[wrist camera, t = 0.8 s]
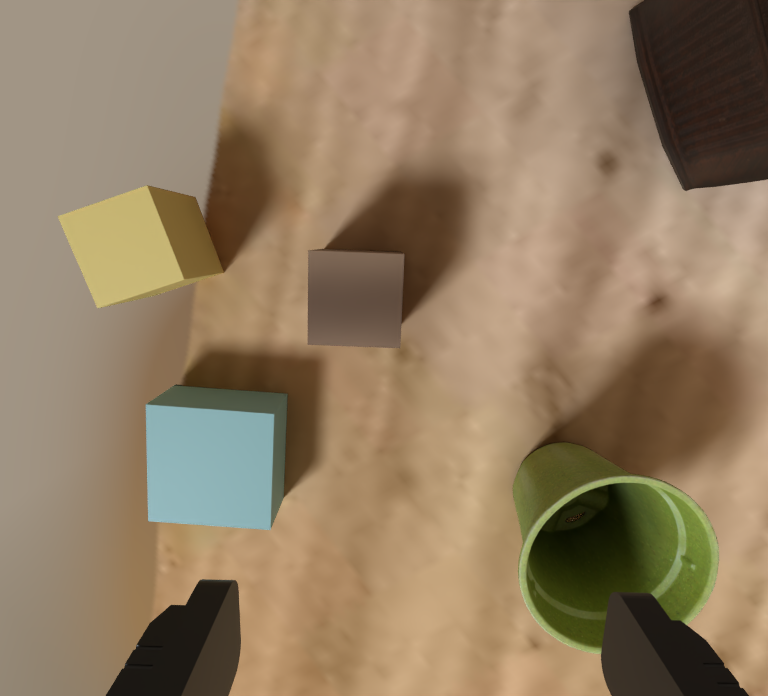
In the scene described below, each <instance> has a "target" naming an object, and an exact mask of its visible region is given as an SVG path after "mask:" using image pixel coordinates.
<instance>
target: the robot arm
mask: <svg viewBox="0 0 768 696" xmlns="http://www.w3.org/2000/svg"><path fill="white" fill-rule="evenodd" d="M240 647H241V634H240V612H239V591H238V584H237V581H236V580H204V579H202V580H200V581H199V582H198V584H197V585H196V587H195V589H194V591H193V593H192V594H191V596H190V598H189V600H188V602H187V604H186V605H171V606H169V607H168V608H167V609H166V610H165V611H164V612H162V613H161V614H160V615H159V616H158V617H157V618H155V619H154V620H153V621H152V622H151V623H150V624H149V626H148V627H147V629H146V630H145V632H144V634H143V636H142V637H141V639H140V640H139V642H138V644H137V646H136V650H133V652H132V653H131V655H130V657H129V659H128V660H127V662H126V663H125V668H124V669H122V670H121V672H120V673H119V675H118V676H117V678H116V680H115V682H114V683H113V685H112V686H111V688H110V690H109V691H108V693H107V694H106V696H228V695H229V692H230V689H231V686H232V684H233V681H234V678H235V675H236V671H237V667H238V662H239V656H240ZM601 662H602V669H603V674H604V678H605V681H606V684H607V687H608V689H609V691H610V693H611V695H612V696H749V695H748V694H747V693H746V691H745V690H744V689H743V688H740V686H739V682H738V681H737V680H736V679H735V677H734V676H733V675H732V673H731V672H730V671H729V669H728V668H725V667H724V663H723V662H722V660H721V659H720V658H719V657H718V655H717V654H716V653H715V651H714V650H713V649H712V647H711V646H710V645H709V644H708V642H707V641H706V640H705V639H704V638H702V637H701V636H700V635H699V634H697V633H696V632H695V631H694V630H692V629H691V628H690V627H688V626H687V625H686V624H685V623H683V622H682V621H681V620H671V619H670V618H669V616H668V615H667V613H666V612H665V611H664V609H663V608H662V607H661V605H660V604H659V602H658V601H657V600H656V598H655V597H654V596H653V595H652V594H650V593H634V592H613V593H611V595H610V597H609V601H608V608H607V615H606V622H605V629H604V636H603V643H602V650H601Z"/></svg>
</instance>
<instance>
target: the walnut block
mask: <svg viewBox="0 0 768 696" xmlns="http://www.w3.org/2000/svg"><path fill="white" fill-rule="evenodd" d="M403 276H404V254H403V253H402V252H392V251H366V250H340V249H318V250H308V345H331V346H357V347H384V348H400V342H401V320H402V298H403Z"/></svg>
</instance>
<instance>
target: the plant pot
mask: <svg viewBox="0 0 768 696" xmlns="http://www.w3.org/2000/svg"><path fill="white" fill-rule="evenodd" d="M513 497H514V502H515V507H516V511H517V515H518V519H519V524H520V529H521V534H522V539H523V545H522V548H521V552H520V557H519V564H518V576H519V585H520V589H521V592H522V596H523V599H524V601H525V603H526V606H527V608H528V609H529V611H530V613H531V614H532V616H533V618H534V619H535V620H536V622H537V623H538V624H539V625H540V626H541V627H542V628H543V629H544V630H545V631H546V632H547V633H549V634H550V635H551V636H553V637H554V638H556V639H557V640H558V641H560V642H562V643H564V644H566V645H568V646H570V647H573V648H575V649H578V650H582V651H585V652H589V653H595V654H601V650H602V643H603V636H604V629H605V622H606V615H607V608H608V601H609V597H610V595H611V593H613V592H634V593H650V594H652V595H653V596H654V597H655V598H656V600H657V601H658V602H659V604H660V605H661V607H662V608H663V609H664V611H665V612H666V613H667V615H668V616H669V618H670V619H671V620H681V621H682V622H683V623H685V624H686V625H688V624H689V623H690V622H691V621H692V620H693V619H694V618H695V617H696V616H697V615H698V613H699V612H700V611H701V610H702V608H703V606H704V605H705V604H706V602H707V600H708V598H709V597H710V594H711V592H712V591H713V588H714V585H715V581H716V577H717V571H718V564H719V547H718V542H717V538H716V535H715V532H714V530H713V527H712V525H711V523H710V521H709V519H708V517H707V515H706V514H705V513H704V511H703V510H702V509H701V507H700V506H699V505H698V504H697V503H696V502H695V501H694V500H693V499H692V498H691V497H690V496H688V495H687V494H686V493H684V492H683V491H681V490H680V489H678V488H676V487H675V486H673V485H671V484H669V483H667V482H665V481H662V480H659V479H656V478H653V477H648V476H643V475H636V474H630V473H629V472H627V471H625V470H623V469H622V468H620V467H618V466H616V465H615V464H613V463H611V462H610V461H608V460H606V459H605V458H603V457H601V456H600V455H598V454H597V453H595V452H593V451H592V450H590V449H588V448H586V447H583V446H580V445H577V444H572V443H566V442H561V443H553V444H549V445H546V446H543V447H541V448H539V449H537V450H536V451H534V452H533V453H532V454H530V455H529V456H528V457H527V458H526V459H525V460H524V461H523V463H522V464H521V466H520V468H519V471H518V473H517V475H516V478H515V481H514V484H513ZM582 512H585V513H584V515H583V516H582V517H581V518H579V519H578V520H576V521H573V522H566V521H565V520H566V519H567V518H570V517H573V516H576V515H578V514H582Z"/></svg>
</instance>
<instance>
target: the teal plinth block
mask: <svg viewBox="0 0 768 696" xmlns="http://www.w3.org/2000/svg"><path fill="white" fill-rule="evenodd" d="M287 397H288V394H284V393H270V392H257V391H243V390H230V389H216V388H203V387H189V386H181V385H177V384H176V385H174V386H173V387H171V388H170V389H168V390H167V391H165V392H164V393H162V394H161V395H159V396H158V397H157V398H155V399H154V400H152V401H150V402H149V403H148V404H146V437H147V481H148V482H147V483H148V521H154V522H168V523H182V524H195V525H209V526H223V527H237V528H250V529H264V530H271V527H272V525H273V522H274V520H275V518H276V515H277V513H278V510H279V508H280V505H281V503H282V500H283V498H284V475H285V449H286V423H287Z"/></svg>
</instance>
